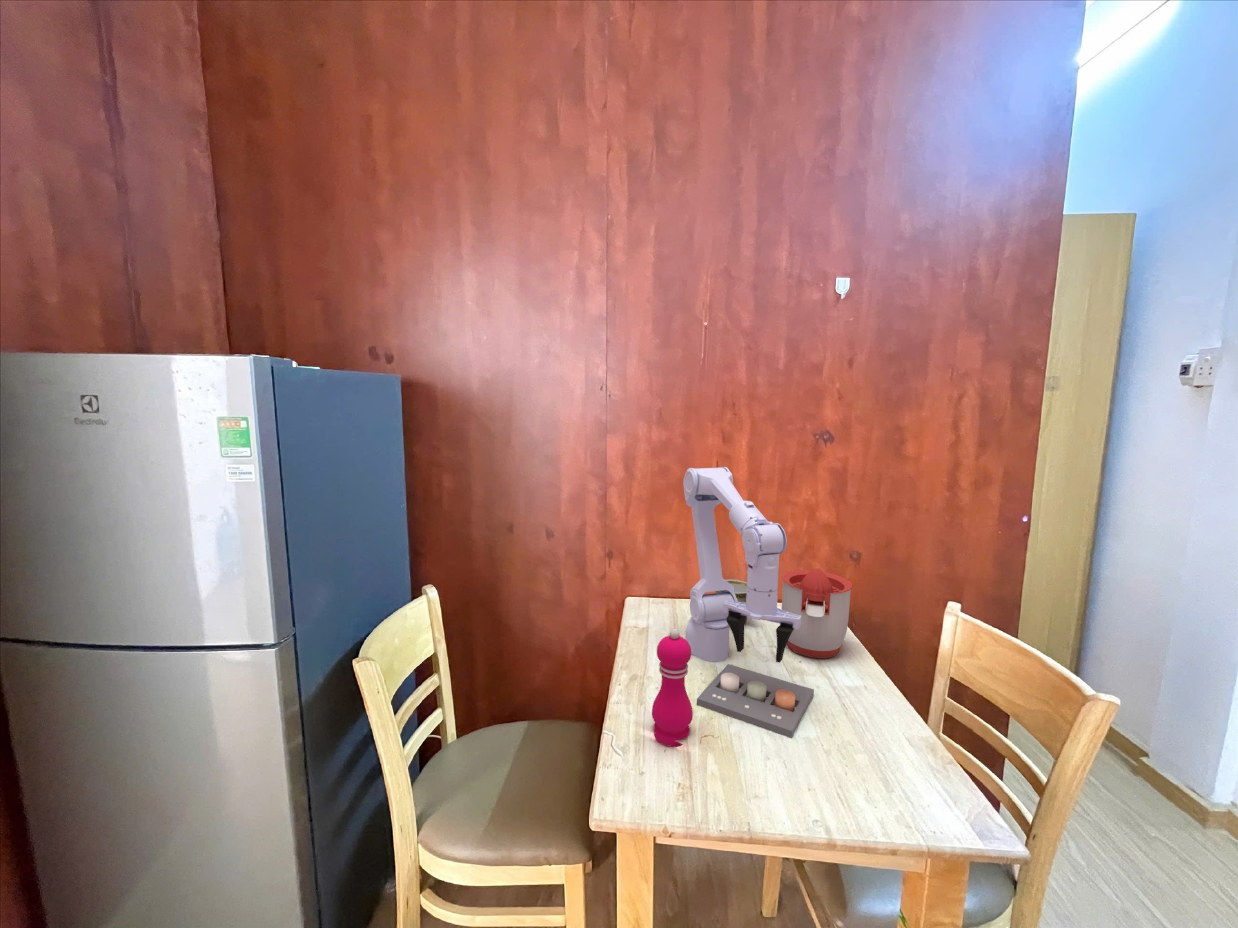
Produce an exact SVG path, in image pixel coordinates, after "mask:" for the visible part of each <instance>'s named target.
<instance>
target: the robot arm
mask: <svg viewBox="0 0 1238 928" xmlns="http://www.w3.org/2000/svg"><path fill="white" fill-rule="evenodd" d="M683 477H684V478H683V481H682V483H683V491H684V494H683V495H684V500H685V505H686V506H688V507H690V508H691V514H692V520H693V528H694V529H693V530H694V537H695V547H696V553H697V561H698V562H697V564H698V569H699V570H698V571H699V577H700V579H699V581H697V582H696V584H695V585H694V586H693V587H691V589H690V591H689V592H690V596H689V597H690V599H689V600H690V601H689V610H690V615H691V617H690V618H689V620H688V622H687V625H686V627H685V637H684V639H686V640H687V641H688V643H689V645H690V647H691V657H692V656H693V657H696V658H698V659H700V660H703V661H705V662H709V663H722V662H724V661H726V660H728V658H729V652H730V651H729V649H730V630H731V633H732V635H733V640H734V643H735V647H736V649H735V650H736V652H738V653H741V652H742V651H743V649H744V648H745V627H746V623H745V620H746V616H747V618H748V617H749V619H751V620H754V621H755V620H756V621H762V620H763V621H767V622H771V623H777V624H779V625H778V627H776V629H775V633H776V654H775V661H776V663H781V662H782V661H783V658H784V653H785V650H786V646H787V642H788V639H789V637H790V635H791V633H792V632H793V630H794V628H795V629H799V628H800V626H801V616H800V615H796V614H793V613H790V612H787V611H784V610H782V608H778V594H779V571H780V569H779V568H780V555H781V554H783V553H784V552H785V551H786V549H787V546H788V545H787V543H788V542H787V539H788V538H787V534H786V532H785V530H784V528H783V527H782V525H781V523H778V522H772V521H768V520H767V518H766V517H765V516H764V514H762V512H761V511H760V510H759V509H758V508H757V506H755V504H754V502H753V501H751V500H744V499H743V498H742V496H741V495H740V493H739V492H738V490H737V488H736V487H735V486H734V478H733V473H732V472H731V471H730V470H729V468H728V467H726V466H722V467H706V468H705V467H703V468H701V467H700V468H693V467H689V468H687V470H686V471H685V473H684V476H683ZM720 504H722V505H723V506H724V507H726V509H727V510H728V511H729V513H728V519H729V521H730V522H731V524H732V525H733V526H734V528H735V529H736V530H737V533H739V534H740V535H741V541H742V547H743V550H744V559H745V563H746V564H747V572H746V573H747V574H746V576H747V577H746V582H747V595H746V602H738V600H737V598H736V595H735V592H734V587H733V586H732V585H731V584H730V583H728V582H727V581H726V580H727V579H724V577H723V571H722V570H723V569H722V564H721V556H720V548H719V540H718V533H717V526H716V520H715V512H714V511H715V508H716V506H719V505H720ZM716 591H720V592H722V593H716ZM711 592H715V593H711ZM706 593H707V594H706ZM746 621H747V620H746Z"/></svg>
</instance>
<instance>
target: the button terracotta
mask: <svg viewBox="0 0 1238 928" xmlns="http://www.w3.org/2000/svg"><path fill="white" fill-rule="evenodd" d="M774 706H775V707H778V708H782V709H785V710H788V711H791V712H794V711H795V709H796V706H795V694H794V693H793V692H791V691H789V690H785V689H780V690H777V691H776V693H775V703H774Z"/></svg>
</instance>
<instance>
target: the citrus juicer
mask: <svg viewBox="0 0 1238 928" xmlns="http://www.w3.org/2000/svg"><path fill="white" fill-rule="evenodd" d="M781 578H782V579H781V580H782V596H781V610H784V611H787V612H790V613H793V614H796V615H800V616H801V626H800V628H799V629H795V628H794V630H793V632H792V633H791V635H790V637H789V639H788V642H787V644H786V646H788V647H789V649H790V650H792V651H793V652H794V653H796V654H799V655H802V656H805V657H809V658H813V659H815V658H816V659H831V658H833V657H835V656H836V655H837V654H838V653H839V652H840V649H841V648H842V646H843V642H844V641H845V638H846V635H847V631H848V627H849V625H848V624H849V618H850V617H849V616H850V607H851V606H850V603H851V593H852V592H851V591H852V589H853V584H852V582H851V581H849V580H848V579H847V578H846V577H843V576H841V575H839V574H838V575H837V574H834V573H832V572H827V571H822V570H821V569H820V568H819V567H815V568H813V569H795V570H791V571H787V572H785V573H783V575H782V577H781Z"/></svg>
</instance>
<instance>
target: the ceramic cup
mask: <svg viewBox="0 0 1238 928" xmlns="http://www.w3.org/2000/svg"><path fill="white" fill-rule="evenodd" d="M725 580H726V581H727V582H728V583H730V584H731V585H732V586H733V587H734V592H735V595H736V598H737V600H738V602H746V595H747V581H743V580H738V579H725ZM715 593H722V592H720V591H715ZM747 619H748V616H746V620H745V624H746V623H747Z"/></svg>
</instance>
